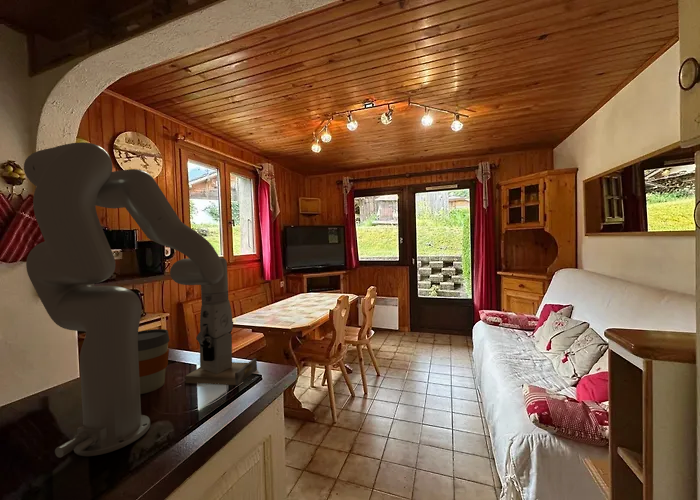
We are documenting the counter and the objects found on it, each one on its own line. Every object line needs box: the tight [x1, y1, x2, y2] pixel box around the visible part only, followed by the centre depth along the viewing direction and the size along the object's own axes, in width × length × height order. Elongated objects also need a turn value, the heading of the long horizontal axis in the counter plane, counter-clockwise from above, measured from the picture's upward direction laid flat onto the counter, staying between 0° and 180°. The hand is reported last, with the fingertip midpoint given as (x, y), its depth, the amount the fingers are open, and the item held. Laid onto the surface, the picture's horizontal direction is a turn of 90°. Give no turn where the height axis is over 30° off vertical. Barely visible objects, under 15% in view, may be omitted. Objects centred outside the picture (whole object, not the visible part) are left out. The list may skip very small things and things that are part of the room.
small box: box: [199, 333, 233, 374], centre depth 92 cm, size 8×6×10 cm
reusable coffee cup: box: [138, 328, 170, 395], centre depth 86 cm, size 13×13×15 cm
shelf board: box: [184, 358, 258, 386], centre depth 91 cm, size 11×17×4 cm, turn 80°
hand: (217, 355), depth 92 cm, fingers open, 7 cm apart
